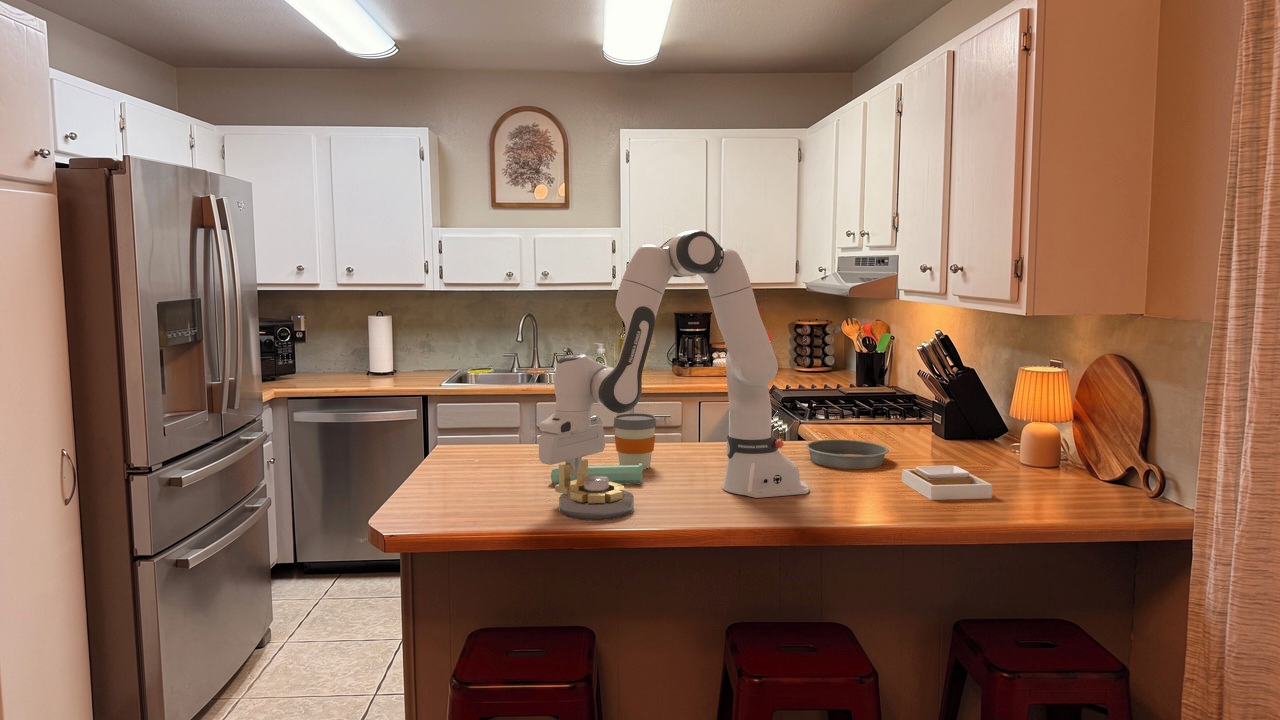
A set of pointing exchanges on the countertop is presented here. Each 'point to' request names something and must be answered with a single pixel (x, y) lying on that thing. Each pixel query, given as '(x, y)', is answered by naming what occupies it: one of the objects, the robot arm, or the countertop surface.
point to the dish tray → (947, 488)
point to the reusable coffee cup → (635, 438)
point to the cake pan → (831, 449)
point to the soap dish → (943, 475)
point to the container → (609, 474)
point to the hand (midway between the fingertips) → (573, 475)
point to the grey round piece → (596, 509)
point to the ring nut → (577, 486)
